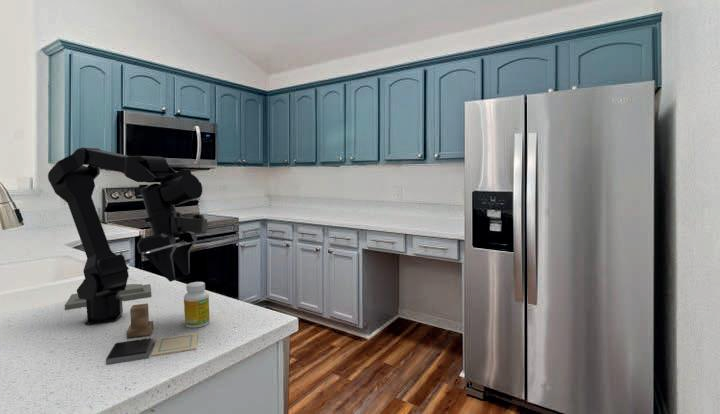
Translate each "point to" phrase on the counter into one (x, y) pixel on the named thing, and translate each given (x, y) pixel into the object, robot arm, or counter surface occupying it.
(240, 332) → the counter surface
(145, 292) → the soap mold
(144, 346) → the ink pad
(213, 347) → the counter surface
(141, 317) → the stamp
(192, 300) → the supplement bottle
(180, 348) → the card
